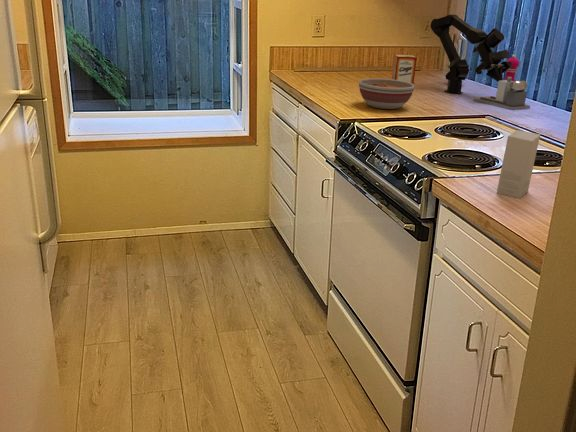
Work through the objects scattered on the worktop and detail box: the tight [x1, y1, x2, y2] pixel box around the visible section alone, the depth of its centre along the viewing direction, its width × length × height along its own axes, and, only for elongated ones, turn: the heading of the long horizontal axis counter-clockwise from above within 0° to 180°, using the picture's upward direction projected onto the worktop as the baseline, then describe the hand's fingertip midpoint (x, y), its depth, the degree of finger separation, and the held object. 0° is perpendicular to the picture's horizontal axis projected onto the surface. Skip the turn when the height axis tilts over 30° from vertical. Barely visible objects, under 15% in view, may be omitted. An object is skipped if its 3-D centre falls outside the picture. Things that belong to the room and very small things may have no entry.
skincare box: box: [496, 129, 541, 199], centre depth 159 cm, size 8×7×16 cm
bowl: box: [358, 78, 415, 110], centre depth 258 cm, size 23×23×10 cm
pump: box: [495, 77, 513, 102], centre depth 277 cm, size 4×6×11 cm
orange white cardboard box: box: [391, 54, 418, 85], centre depth 303 cm, size 10×6×16 cm
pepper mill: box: [503, 54, 520, 81], centre depth 295 cm, size 7×7×20 cm
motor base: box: [472, 80, 531, 111], centre depth 278 cm, size 22×12×12 cm, turn 32°
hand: (502, 83), depth 278 cm, fingers closed, pressing on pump
